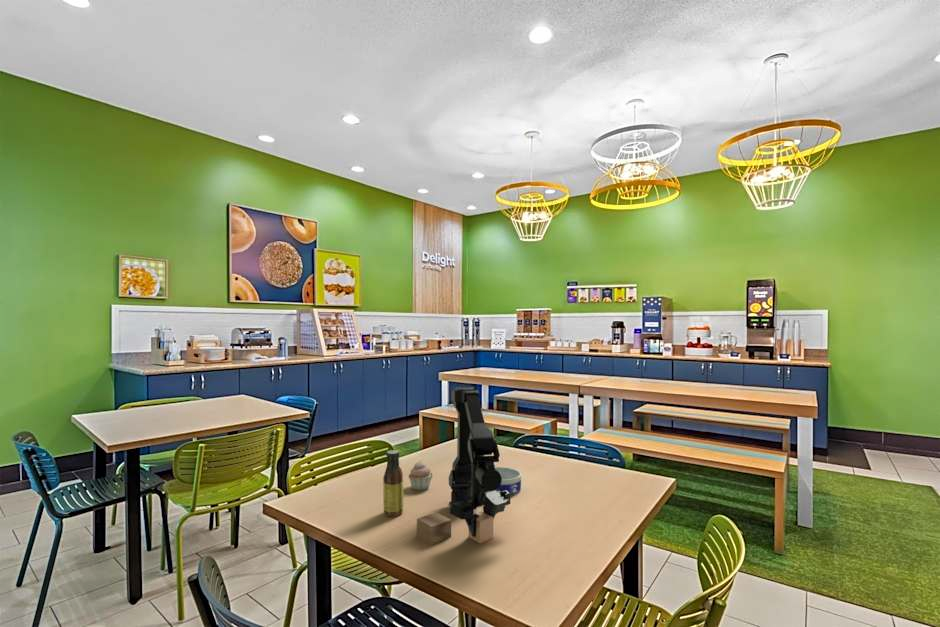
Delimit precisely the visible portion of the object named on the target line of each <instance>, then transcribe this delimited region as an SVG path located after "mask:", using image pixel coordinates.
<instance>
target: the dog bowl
mask: <svg viewBox="0 0 940 627" xmlns="http://www.w3.org/2000/svg"><path fill="white" fill-rule="evenodd" d="M495 469H496V470H497V471H498V472H499V473H500V475H501V478H502V482H501V485H500V486H499V488H498V489H496V490H501V491H505V490H507V491H508V492H509V493H510V496H515V495H517V494H519V493H520V492H521V489H522V472H520V470H518V469H516V468H512V467H507V466H495ZM514 494H515V495H514Z"/></svg>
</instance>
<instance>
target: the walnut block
mask: <svg viewBox="0 0 940 627" xmlns="http://www.w3.org/2000/svg"><path fill="white" fill-rule="evenodd" d="M418 536H419V537H418ZM416 537H418V538H420V539H421V538H422V540H423V541H425V542H426V543H428V544H430V545H431V546H432V545H434V544H437V543H439V542H442V541H444V540H447V539H449V537H450V538H452V519H450V518H448V517H446V516H445V515H443V514H441V513H439V512H436V511H435V512H433V513H430V514H427V515H423V516H420V517H418V518H417V519H416Z"/></svg>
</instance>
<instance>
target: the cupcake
mask: <svg viewBox="0 0 940 627" xmlns="http://www.w3.org/2000/svg"><path fill="white" fill-rule="evenodd" d="M433 474H434V473H433V472H431V469H430V466H429V465H428V464H425V463H424V461H422V460H420V461H418V462H417V463H415V464H414V465H413V468H411V469H410V473H408V474H407V475H408V479H409V481H410V486H411V489H412V490H413V489H414V491H417V490H422V491H426V490H428V489H429V488H430V485H431V480H432V478H433V476H434V475H433Z"/></svg>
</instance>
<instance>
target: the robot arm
mask: <svg viewBox="0 0 940 627" xmlns="http://www.w3.org/2000/svg"><path fill="white" fill-rule="evenodd" d="M451 401H452V405H453V407H454V409H455V411H456V413H457V433H456V436H457V439H456V440H457V445H456V446H457V447H456V449H457V450H456V452H457V453H456V457H455V459H454V460H453V462H452V464H451V468H452V469H451V470H450V473H449V476H448V485H449V487H450V489H451V493H450V494H451V495H450V498H451V499H450V501H449V502H448V504H449V505H450V507H449V514H450V515H452V516H455V517H456V518H458V519H459V520H464V521H465V523H466V526H467V527H468V531H469V530H470V532H471V535H472V536H473V537H475V536H476V520H477V518H478V517H479V515H477V514H476V513H477V510H478V509H479V508H482V512H484V513H486V514H488V515H490V516H492V517H493V521H494V520H495V519H494V518H495V516H496V515H497V514H498V513H503V512H504V511H505V509H506V506H509V505H511V495H510V493H509V492H508V491H507V490H505V491H501V490H496V489H498V488H499V486H500V485H501V482H502V478H501V475H500V473H499V472H498V471H497V470H496V469H495V467H496V465H495V463H499V462H500V457H501V455H500V451H499V446H498V442H497V441H496V438H495V437H494V434H493V432H492V430H491V429H490V428H488V426H486V423H485V420H484V418H485V417H484V416H483V410H482V407H481V403H480V390H478V389H475V388H474V387H473V386H462V387H459V386H457V387H455V388H454V390H451Z"/></svg>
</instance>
